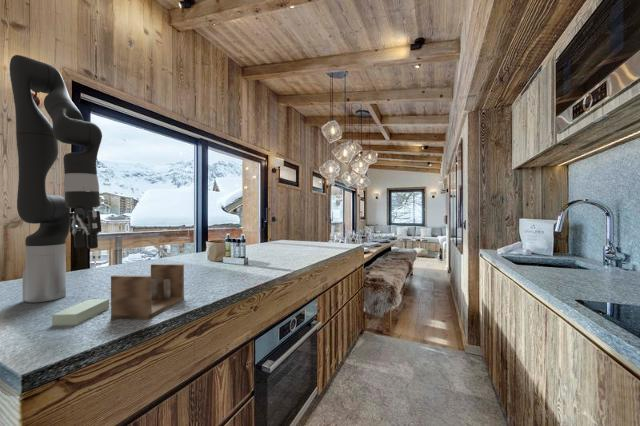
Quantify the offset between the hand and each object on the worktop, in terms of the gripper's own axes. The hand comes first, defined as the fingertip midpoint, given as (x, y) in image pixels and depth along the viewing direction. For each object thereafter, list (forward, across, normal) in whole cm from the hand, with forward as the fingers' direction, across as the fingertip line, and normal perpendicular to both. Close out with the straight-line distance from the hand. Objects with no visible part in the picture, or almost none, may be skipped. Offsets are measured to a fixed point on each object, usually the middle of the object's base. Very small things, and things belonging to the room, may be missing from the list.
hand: (86, 247), depth 80 cm
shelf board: (+18, +5, -3) cm, 19 cm away
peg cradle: (+18, +14, +10) cm, 25 cm away
